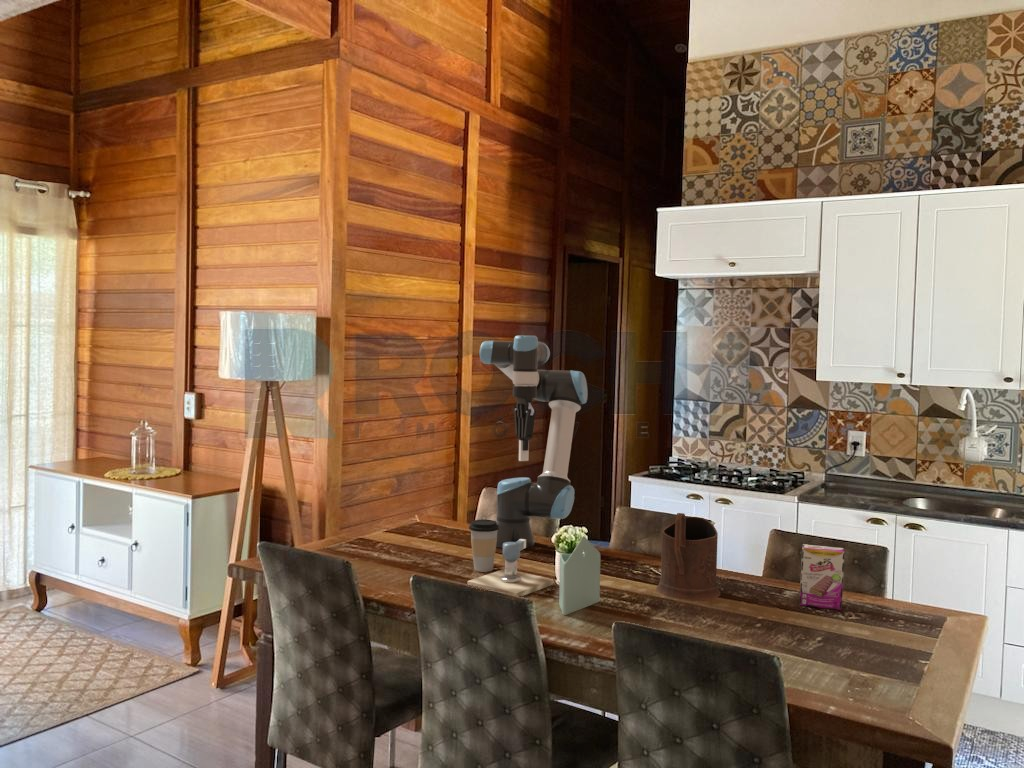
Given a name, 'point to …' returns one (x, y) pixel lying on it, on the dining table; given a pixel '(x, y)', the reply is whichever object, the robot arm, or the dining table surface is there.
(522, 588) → the base board
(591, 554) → the planter
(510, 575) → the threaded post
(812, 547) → the candy bar box
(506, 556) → the cap
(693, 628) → the dining table surface
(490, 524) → the coffee cup
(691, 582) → the rusty brown jug
